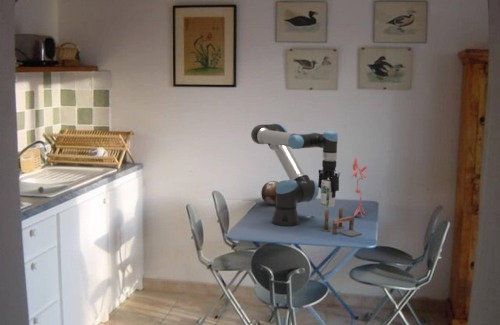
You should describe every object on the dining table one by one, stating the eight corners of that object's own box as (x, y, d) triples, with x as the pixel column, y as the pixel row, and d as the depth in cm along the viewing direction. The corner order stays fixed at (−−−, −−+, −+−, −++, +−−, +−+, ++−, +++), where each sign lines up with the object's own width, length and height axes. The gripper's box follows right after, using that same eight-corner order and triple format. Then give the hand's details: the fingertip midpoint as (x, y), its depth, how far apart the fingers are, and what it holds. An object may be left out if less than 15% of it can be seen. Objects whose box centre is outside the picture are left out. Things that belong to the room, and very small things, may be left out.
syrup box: (319, 206, 325) (320, 179, 323) (327, 204, 329) (328, 178, 327) (327, 208, 321) (328, 181, 319) (335, 206, 324) (336, 180, 322)
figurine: (367, 210, 366) (369, 154, 361) (362, 220, 342) (364, 160, 337) (342, 209, 371) (344, 153, 365) (336, 218, 346) (337, 159, 341)
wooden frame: (320, 230, 320) (321, 210, 318) (339, 226, 329) (340, 206, 328) (334, 234, 312) (335, 214, 310) (353, 230, 322) (354, 210, 320)
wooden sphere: (258, 206, 372) (259, 182, 370) (263, 201, 387) (264, 178, 384) (282, 208, 369) (283, 184, 367) (286, 202, 383) (287, 179, 381)
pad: (339, 233, 314) (339, 232, 314) (350, 231, 319) (350, 229, 319) (351, 237, 308) (351, 235, 308) (361, 234, 313) (361, 233, 313)
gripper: (312, 158, 326) (310, 199, 329) (337, 162, 311) (335, 206, 315) (321, 157, 330) (320, 198, 334) (347, 161, 316) (345, 204, 320)
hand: (327, 202), depth 324 cm, fingers closed on syrup box, 6 cm apart
